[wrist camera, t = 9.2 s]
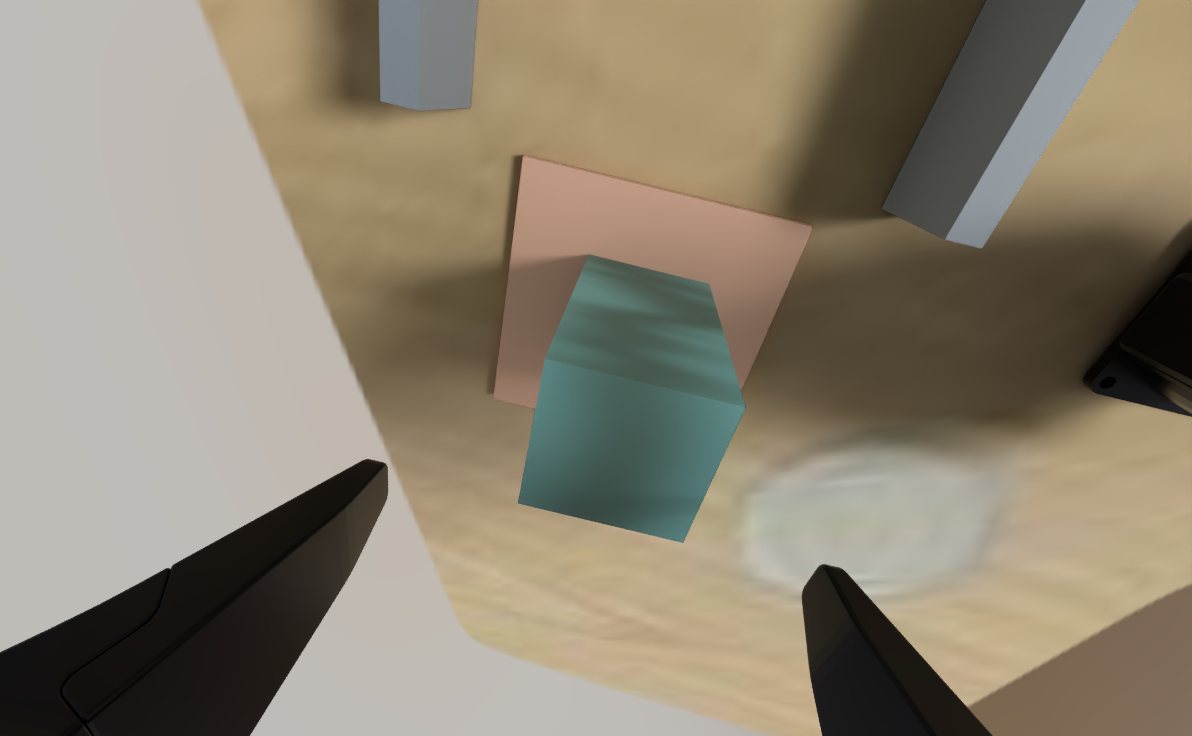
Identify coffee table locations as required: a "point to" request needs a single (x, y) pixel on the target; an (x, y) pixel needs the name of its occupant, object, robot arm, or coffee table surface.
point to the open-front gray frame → (947, 139)
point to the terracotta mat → (634, 260)
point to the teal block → (632, 402)
